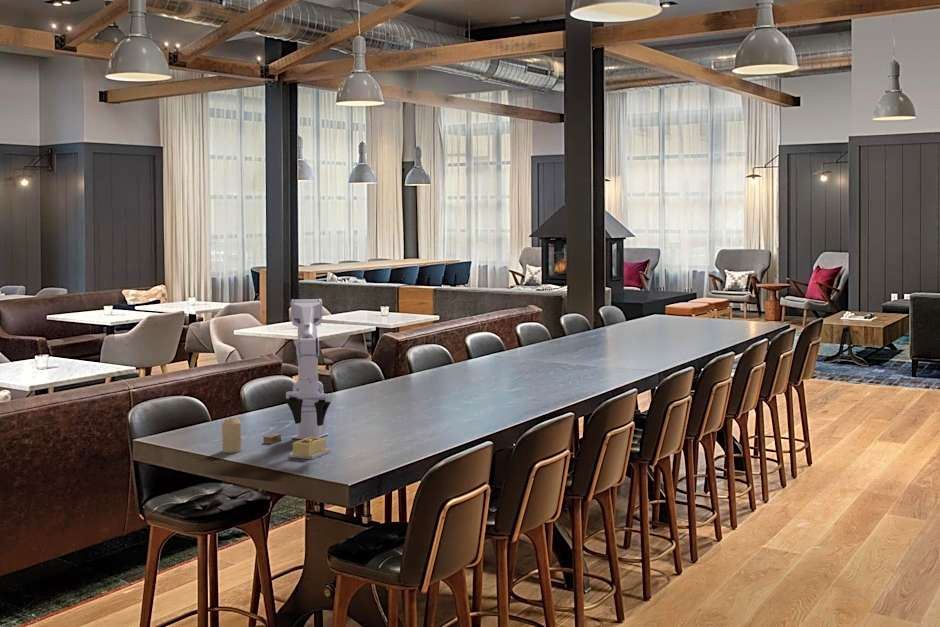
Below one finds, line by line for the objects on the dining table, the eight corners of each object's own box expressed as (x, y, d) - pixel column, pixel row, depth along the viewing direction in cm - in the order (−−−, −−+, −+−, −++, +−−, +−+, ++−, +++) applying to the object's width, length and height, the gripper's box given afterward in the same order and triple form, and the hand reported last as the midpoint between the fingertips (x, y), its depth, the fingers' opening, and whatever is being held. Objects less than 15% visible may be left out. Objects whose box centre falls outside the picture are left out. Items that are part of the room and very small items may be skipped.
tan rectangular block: (272, 439, 319) (272, 433, 318) (280, 440, 317) (280, 434, 317) (263, 443, 314) (263, 436, 314) (271, 443, 313) (271, 437, 313)
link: (309, 447, 303) (309, 436, 303) (325, 448, 301) (325, 438, 301) (292, 453, 295) (292, 442, 295) (309, 455, 293) (308, 444, 293)
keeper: (307, 449, 305) (307, 434, 304) (330, 452, 302) (330, 437, 301) (288, 456, 296) (288, 441, 295) (312, 459, 292) (311, 444, 292)
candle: (243, 448, 306) (242, 416, 305) (239, 452, 301) (238, 419, 300) (224, 448, 306) (223, 416, 305) (220, 453, 301) (220, 419, 300)
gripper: (279, 378, 296) (280, 424, 297) (322, 382, 290) (323, 428, 291) (293, 375, 302) (293, 420, 303) (335, 378, 296) (335, 424, 298)
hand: (309, 424), depth 298 cm, fingers open, 7 cm apart
